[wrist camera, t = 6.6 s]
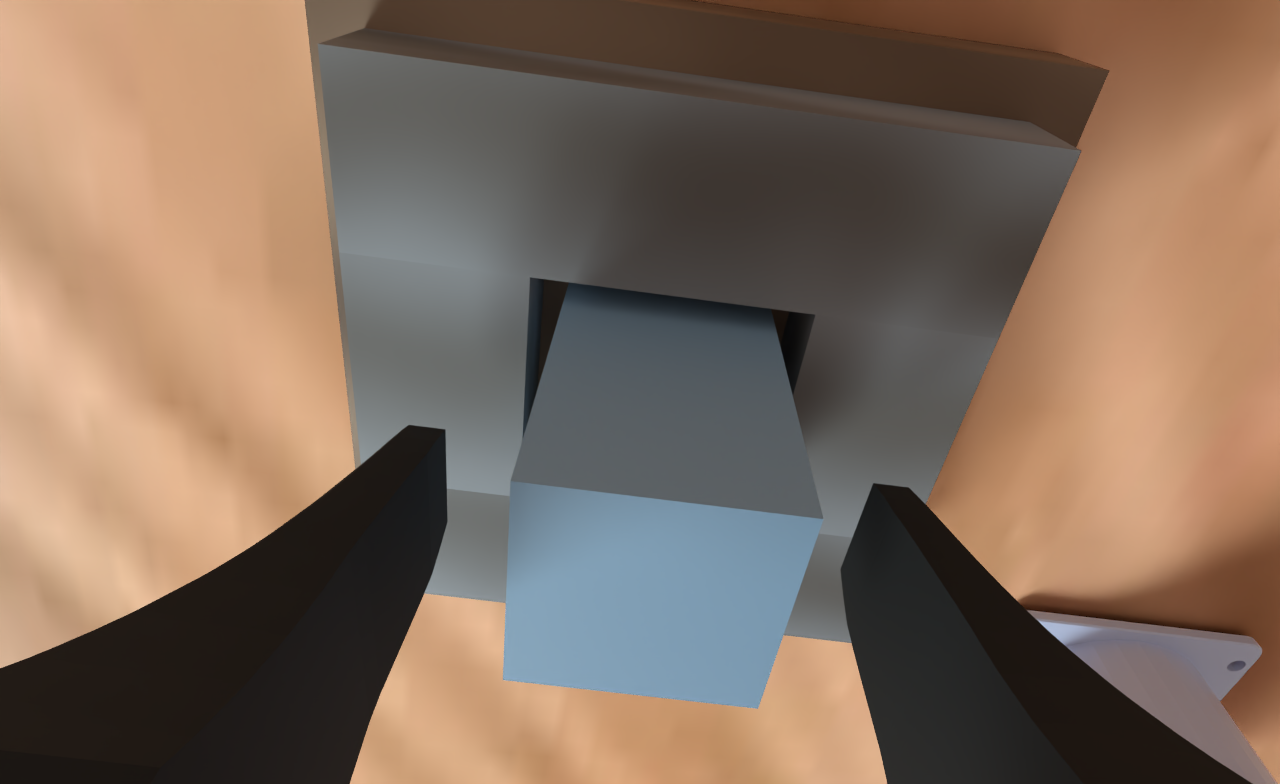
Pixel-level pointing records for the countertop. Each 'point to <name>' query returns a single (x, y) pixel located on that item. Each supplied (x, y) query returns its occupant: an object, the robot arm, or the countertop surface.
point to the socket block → (678, 223)
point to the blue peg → (658, 502)
